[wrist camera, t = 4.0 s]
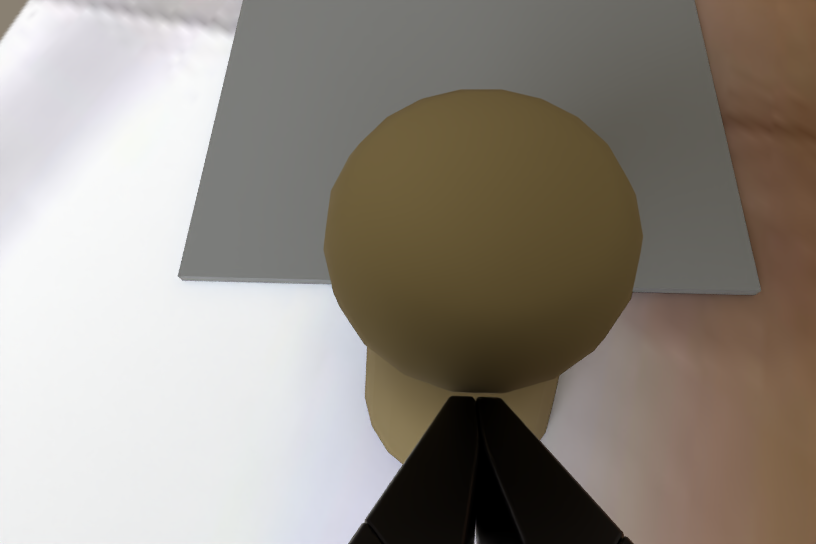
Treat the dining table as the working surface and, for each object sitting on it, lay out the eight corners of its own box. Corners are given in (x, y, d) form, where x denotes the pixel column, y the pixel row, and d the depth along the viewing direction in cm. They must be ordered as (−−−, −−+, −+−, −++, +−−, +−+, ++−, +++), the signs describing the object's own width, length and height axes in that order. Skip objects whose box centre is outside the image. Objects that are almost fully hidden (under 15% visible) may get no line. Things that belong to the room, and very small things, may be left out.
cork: (326, 381, 18) (193, 173, 8) (458, 268, 19) (481, -18, 10) (457, 532, 16) (493, 501, 6) (592, 389, 17) (798, 178, 7)
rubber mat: (754, 294, 18) (761, 290, 18) (182, 280, 20) (177, 275, 19) (681, -31, 25) (685, -39, 24) (253, -27, 26) (250, -34, 26)
